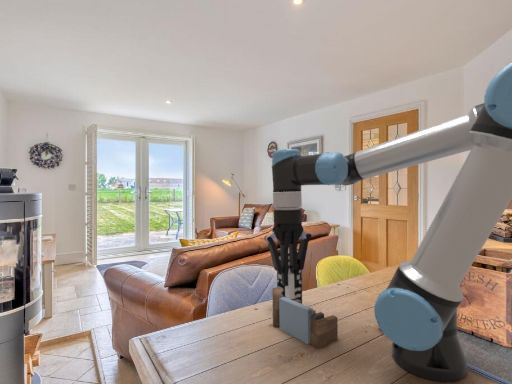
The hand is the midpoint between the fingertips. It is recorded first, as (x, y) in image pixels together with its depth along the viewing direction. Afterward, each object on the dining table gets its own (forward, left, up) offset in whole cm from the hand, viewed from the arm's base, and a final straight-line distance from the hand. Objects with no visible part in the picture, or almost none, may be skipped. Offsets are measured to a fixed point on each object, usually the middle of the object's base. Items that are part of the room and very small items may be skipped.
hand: (289, 297), depth 79 cm
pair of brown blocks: (+3, -7, -12) cm, 14 cm away
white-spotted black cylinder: (+17, -13, -12) cm, 25 cm away
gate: (+2, -4, -12) cm, 13 cm away
